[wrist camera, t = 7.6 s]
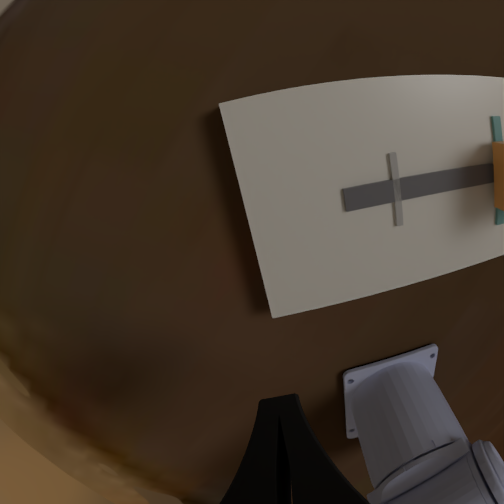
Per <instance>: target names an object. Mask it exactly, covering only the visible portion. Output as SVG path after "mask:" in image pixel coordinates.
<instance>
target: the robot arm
mask: <svg viewBox="0 0 504 504" xmlns="http://www.w3.org/2000/svg"><path fill="white" fill-rule="evenodd" d="M437 353H438V347H437V345H436V344H431V345H428V346H425V347H422V348H419V349H416V350H414V351H411V352H407V353H404V354H401V355H398V356H395V357H392V358H389V359H385V360H382V361H379V362H375V363H372V364H368V365H365V366H361V367H357V368H354V369H350V370H347V371H346V372H344V374H343V384H344V398H345V416H346V435H347V438H349V439H352V438H356V437H358V438H359V441H360V445H361V448H362V452H363V455H364V458H365V462H366V465H367V469H368V473H369V476H370V480H371V483H372V485H373V487H374V488H375V490H374V491H372V492H371V493H369V494H367V498H368V501H367V500H366V499H365V498H364V497H363V496H362V495H361V494H360V493H359V492H358V491H357V490H356V489H355V488H354V487H353V486H352V485H351V484H350V482H349V481H348V480H347V479H346V478H345V477H344V475H343V474H342V473H341V472H340V471H339V469H338V468H337V467H336V466H335V464H334V463H333V462H332V460H331V459H330V457H329V456H328V455H327V453H326V452H325V450H324V449H323V447H322V446H321V444H320V442H319V441H318V439H317V437H316V436H315V434H314V432H313V430H312V429H311V427H310V425H309V423H308V421H307V419H306V417H305V414H304V412H303V410H302V407H301V404H300V401H299V396H298V395H297V394H289V395H284V396H279V397H273V398H268V399H262V400H260V401H259V405H258V411H257V416H256V420H255V424H254V428H253V432H252V435H251V438H250V441H249V444H248V447H247V450H246V452H245V455H244V457H243V460H242V462H241V464H240V467H239V469H238V471H237V473H236V475H235V477H234V479H233V481H232V483H231V485H230V487H229V489H228V491H227V492H226V494H225V496H224V497H223V499H222V501H221V502H220V504H291V484H292V498H293V504H504V462H503V460H502V459H501V457H500V455H499V454H498V452H497V451H496V449H495V448H494V446H493V445H492V443H491V442H489V441H482V440H478V441H476V442H475V443H474V444H471V443H470V442H469V441H468V439H467V437H466V435H465V433H464V431H463V430H462V428H461V426H460V424H459V422H458V420H457V419H456V417H455V415H454V413H453V412H452V410H451V408H450V406H449V404H448V403H447V401H446V399H445V398H444V396H443V394H442V392H441V391H440V389H439V387H438V386H437V384H436V382H435V381H434V379H433V376H434V370H435V365H436V359H437ZM431 354H432V355H431ZM350 379H351V380H350ZM348 380H349V381H348Z"/></svg>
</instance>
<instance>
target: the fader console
mask: <svg viewBox="0 0 504 504" xmlns="http://www.w3.org/2000/svg"><path fill="white" fill-rule="evenodd" d="M219 107H220V111H221V115H222V119H223V123H224V127H225V131H226V135H227V139H228V143H229V147H230V151H231V154H232V158H233V162H234V166H235V170H236V174H237V178H238V182H239V186H240V190H241V194H242V198H243V202H244V206H245V210H246V214H247V218H248V222H249V226H250V230H251V234H252V238H253V242H254V246H255V250H256V254H257V258H258V262H259V266H260V270H261V274H262V278H263V282H264V286H265V290H266V294H267V298H268V302H269V306H270V310H271V314H272V318H276V317H281V316H286V315H290V314H295V313H299V312H304V311H308V310H312V309H317V308H321V307H325V306H329V305H334V304H338V303H342V302H346V301H350V300H354V299H358V298H361V297H365V296H369V295H373V294H377V293H380V292H384V291H388V290H392V289H395V288H399V287H402V286H406V285H409V284H413V283H416V282H420V281H423V280H426V279H430V278H433V277H436V276H440V275H443V274H446V273H449V272H453V271H456V270H459V269H462V268H465V267H468V266H471V265H474V264H477V263H480V262H483V261H486V260H489V259H492V258H495V257H498V256H501V255H504V211H502V210H500V209H498V208H496V207H494V165H493V149H492V142H498V141H504V78H501V77H488V76H470V75H407V76H388V77H374V78H363V79H353V80H344V81H336V82H328V83H321V84H314V85H307V86H301V87H295V88H289V89H284V90H278V91H273V92H268V93H263V94H258V95H254V96H249V97H245V98H240V99H236V100H232V101H228V102H224V103H220V104H219Z"/></svg>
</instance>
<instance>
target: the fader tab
mask: <svg viewBox="0 0 504 504" xmlns="http://www.w3.org/2000/svg"><path fill="white" fill-rule="evenodd" d="M492 149H493V165H494V207H496V208H498V209H500V210H502V211H504V141H498V142H492Z"/></svg>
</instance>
